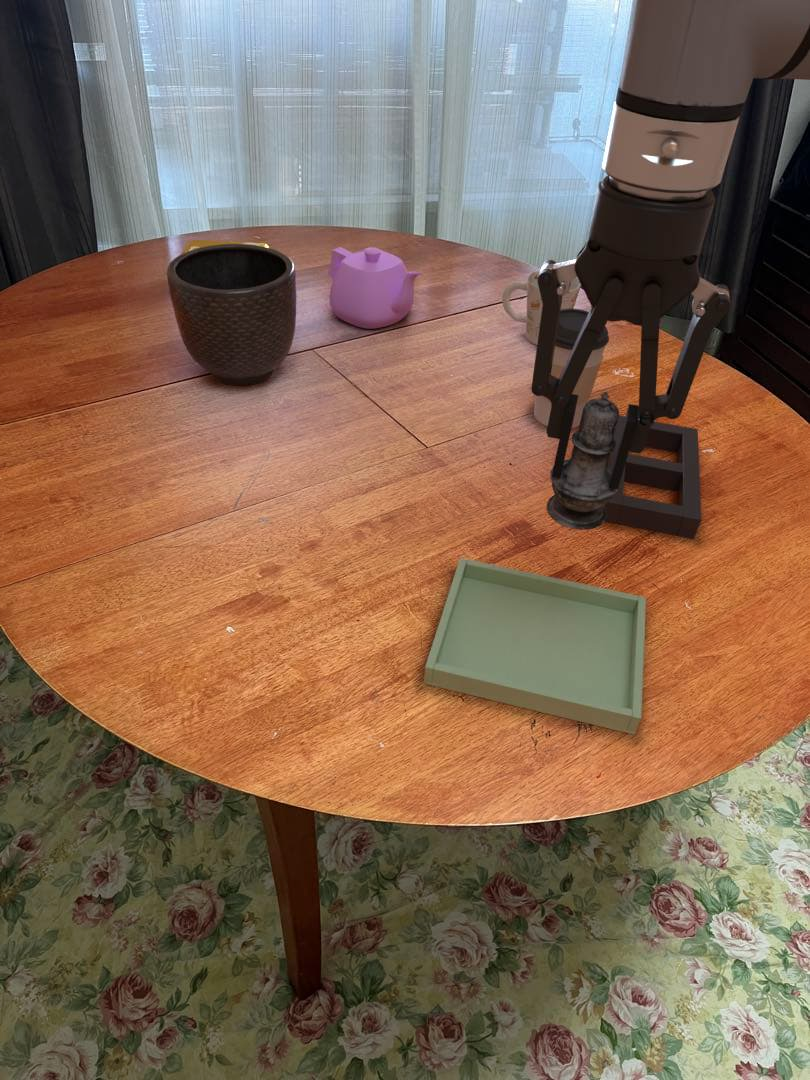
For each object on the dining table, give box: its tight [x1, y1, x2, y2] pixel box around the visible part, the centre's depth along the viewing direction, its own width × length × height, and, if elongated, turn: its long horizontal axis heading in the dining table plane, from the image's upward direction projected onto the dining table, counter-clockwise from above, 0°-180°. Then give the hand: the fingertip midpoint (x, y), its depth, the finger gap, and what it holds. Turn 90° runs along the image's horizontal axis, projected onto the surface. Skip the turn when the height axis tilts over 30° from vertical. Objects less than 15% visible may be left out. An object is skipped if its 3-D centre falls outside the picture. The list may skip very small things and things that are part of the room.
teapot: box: [328, 246, 422, 330], centre depth 127 cm, size 13×20×11 cm
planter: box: [166, 244, 297, 387], centre depth 109 cm, size 17×17×16 cm
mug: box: [501, 270, 582, 346], centre depth 124 cm, size 8×13×10 cm, turn 61°
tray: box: [423, 557, 647, 736], centre depth 75 cm, size 20×16×2 cm
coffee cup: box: [533, 308, 610, 429], centre depth 103 cm, size 9×9×15 cm
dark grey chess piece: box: [546, 391, 620, 531], centre depth 63 cm, size 6×6×12 cm
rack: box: [604, 414, 702, 540], centre depth 96 cm, size 11×20×3 cm, turn 165°
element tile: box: [181, 239, 270, 254], centre depth 137 cm, size 15×15×5 cm
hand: (585, 473), depth 65 cm, fingers closed on dark grey chess piece, 4 cm apart
